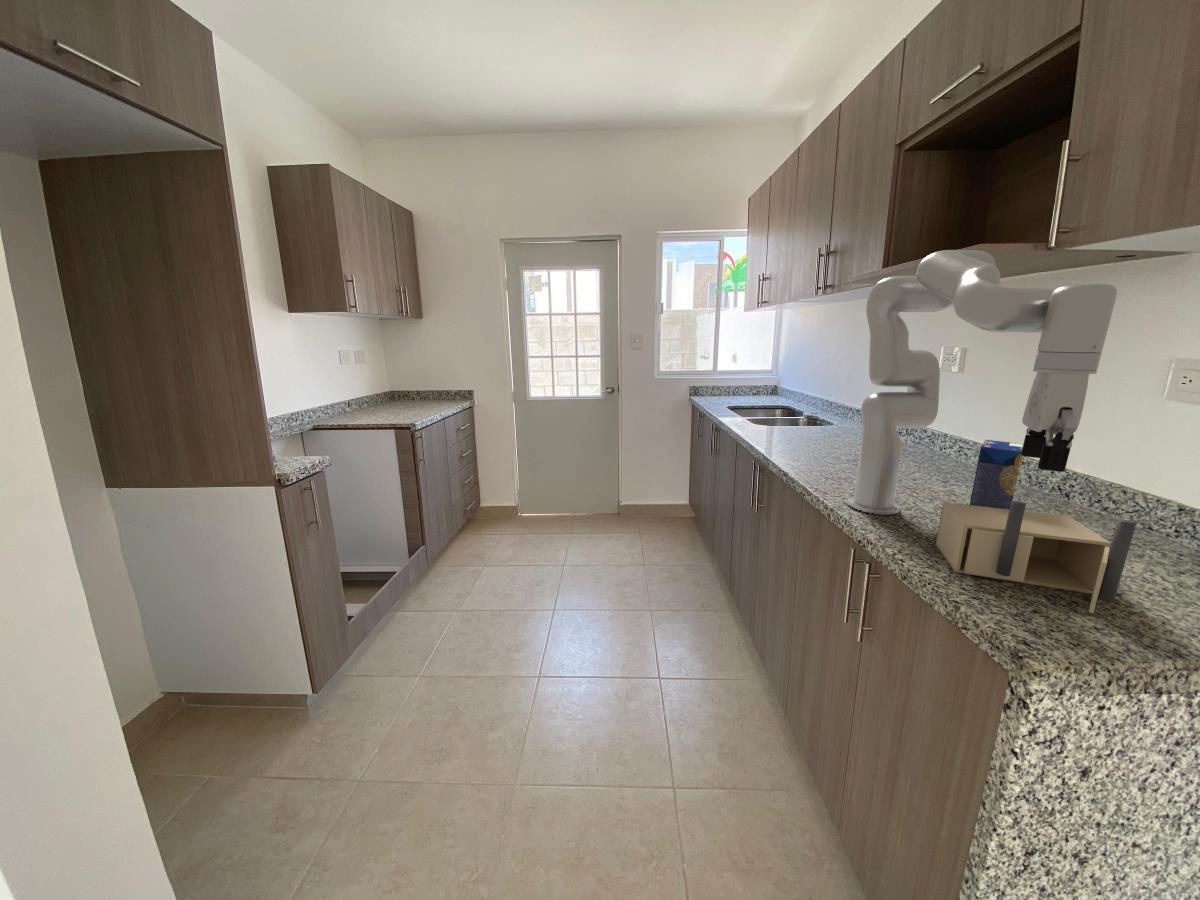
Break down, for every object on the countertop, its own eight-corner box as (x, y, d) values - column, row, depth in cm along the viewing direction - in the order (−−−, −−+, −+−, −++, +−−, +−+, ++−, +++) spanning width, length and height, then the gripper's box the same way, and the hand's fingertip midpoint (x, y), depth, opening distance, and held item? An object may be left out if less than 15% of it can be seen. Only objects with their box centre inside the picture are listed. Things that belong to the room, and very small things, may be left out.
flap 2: (1088, 612, 76) (1112, 524, 73) (1092, 593, 82) (1114, 511, 78) (1110, 618, 74) (1136, 529, 71) (1112, 598, 80) (1136, 515, 77)
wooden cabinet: (935, 544, 103) (943, 502, 101) (1056, 561, 95) (1067, 515, 93) (955, 572, 90) (964, 524, 88) (1096, 594, 83) (1110, 542, 80)
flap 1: (963, 571, 89) (978, 496, 86) (1022, 580, 86) (1040, 502, 83) (967, 577, 87) (983, 500, 84) (1028, 587, 84) (1046, 507, 80)
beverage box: (1004, 534, 108) (1024, 443, 103) (1001, 549, 101) (1022, 451, 96) (968, 526, 113) (985, 439, 108) (962, 540, 105) (980, 446, 100)
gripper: (1021, 360, 85) (1001, 450, 89) (1053, 365, 70) (1027, 472, 74) (1076, 361, 81) (1052, 455, 85) (1122, 367, 67) (1091, 479, 71)
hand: (1041, 463), depth 80 cm, fingers open, 9 cm apart
